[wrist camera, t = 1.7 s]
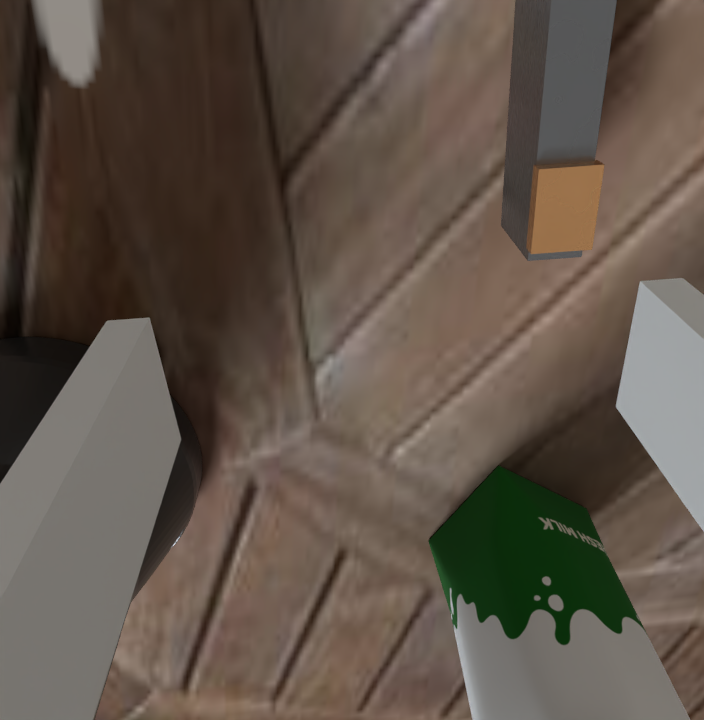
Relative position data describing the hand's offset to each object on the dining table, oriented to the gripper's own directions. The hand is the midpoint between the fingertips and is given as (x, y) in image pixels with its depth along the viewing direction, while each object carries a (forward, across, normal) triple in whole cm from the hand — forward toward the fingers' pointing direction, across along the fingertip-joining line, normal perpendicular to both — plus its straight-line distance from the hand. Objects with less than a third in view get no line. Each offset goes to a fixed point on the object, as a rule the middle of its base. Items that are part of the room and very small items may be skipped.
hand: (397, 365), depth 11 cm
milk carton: (+18, -8, +23) cm, 30 cm away
